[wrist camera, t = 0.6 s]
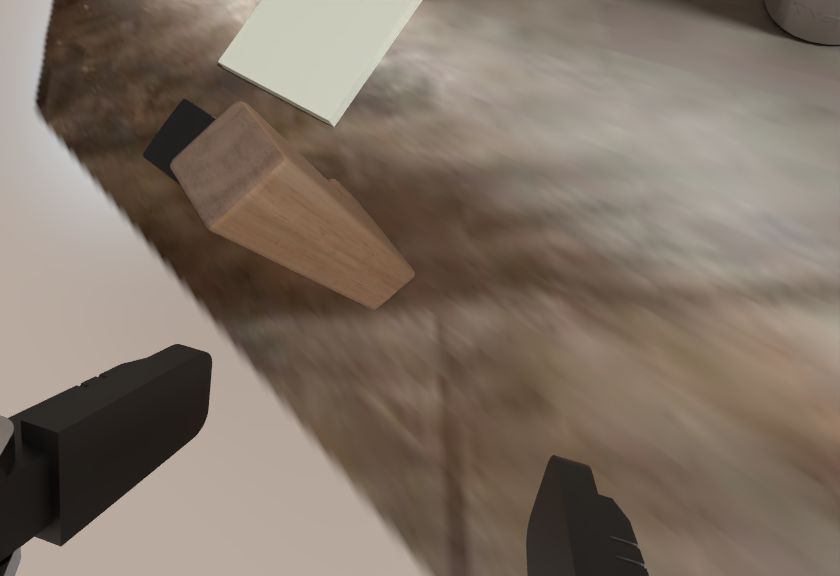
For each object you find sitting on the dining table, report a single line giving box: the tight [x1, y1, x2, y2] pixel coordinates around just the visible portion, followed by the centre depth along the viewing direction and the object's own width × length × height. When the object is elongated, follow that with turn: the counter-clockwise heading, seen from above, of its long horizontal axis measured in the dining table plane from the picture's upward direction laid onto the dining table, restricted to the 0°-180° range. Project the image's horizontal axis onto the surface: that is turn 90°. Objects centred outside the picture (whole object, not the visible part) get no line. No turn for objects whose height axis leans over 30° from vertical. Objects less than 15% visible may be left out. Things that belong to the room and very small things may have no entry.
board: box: [218, 0, 422, 127], centre depth 43 cm, size 16×16×1 cm
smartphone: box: [143, 99, 216, 185], centre depth 43 cm, size 7×1×15 cm
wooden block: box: [170, 101, 415, 310], centre depth 28 cm, size 9×4×18 cm, turn 37°
